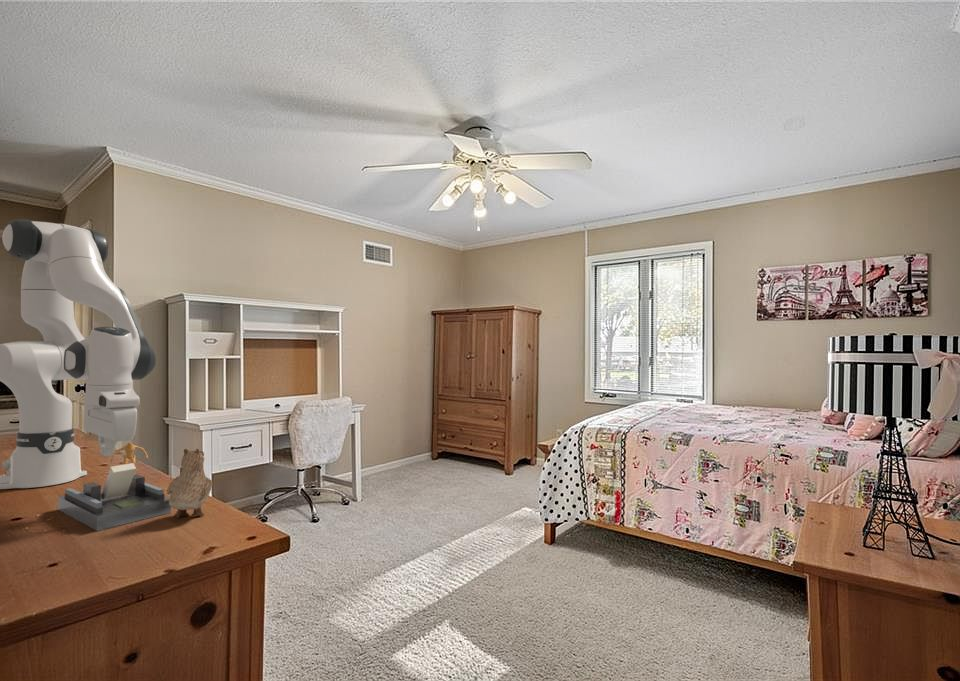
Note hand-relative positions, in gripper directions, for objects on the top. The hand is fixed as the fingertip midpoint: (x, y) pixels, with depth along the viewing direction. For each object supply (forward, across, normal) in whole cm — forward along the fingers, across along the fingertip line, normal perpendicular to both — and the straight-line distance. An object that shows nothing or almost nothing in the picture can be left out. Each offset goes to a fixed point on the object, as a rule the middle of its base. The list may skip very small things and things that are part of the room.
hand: (106, 455), depth 115 cm
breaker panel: (+12, +5, 0) cm, 13 cm away
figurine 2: (+12, +23, +8) cm, 27 cm away
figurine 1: (+13, -14, +10) cm, 21 cm away
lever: (+8, +5, 0) cm, 9 cm away
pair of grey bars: (+9, +5, 0) cm, 10 cm away
